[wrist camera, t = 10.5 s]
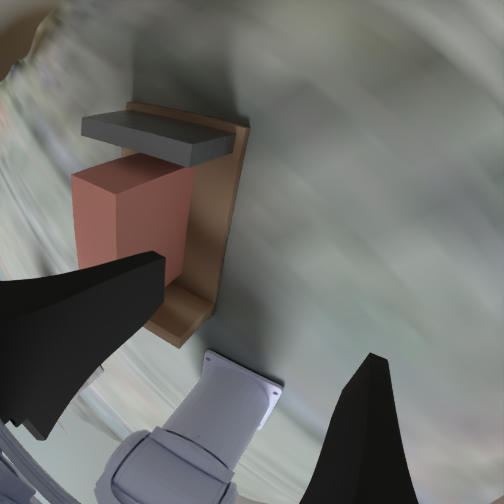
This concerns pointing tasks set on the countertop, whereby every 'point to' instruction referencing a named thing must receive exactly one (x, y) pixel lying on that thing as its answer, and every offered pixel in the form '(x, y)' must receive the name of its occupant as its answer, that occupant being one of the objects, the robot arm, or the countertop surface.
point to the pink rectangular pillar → (132, 211)
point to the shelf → (199, 233)
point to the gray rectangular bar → (160, 136)
